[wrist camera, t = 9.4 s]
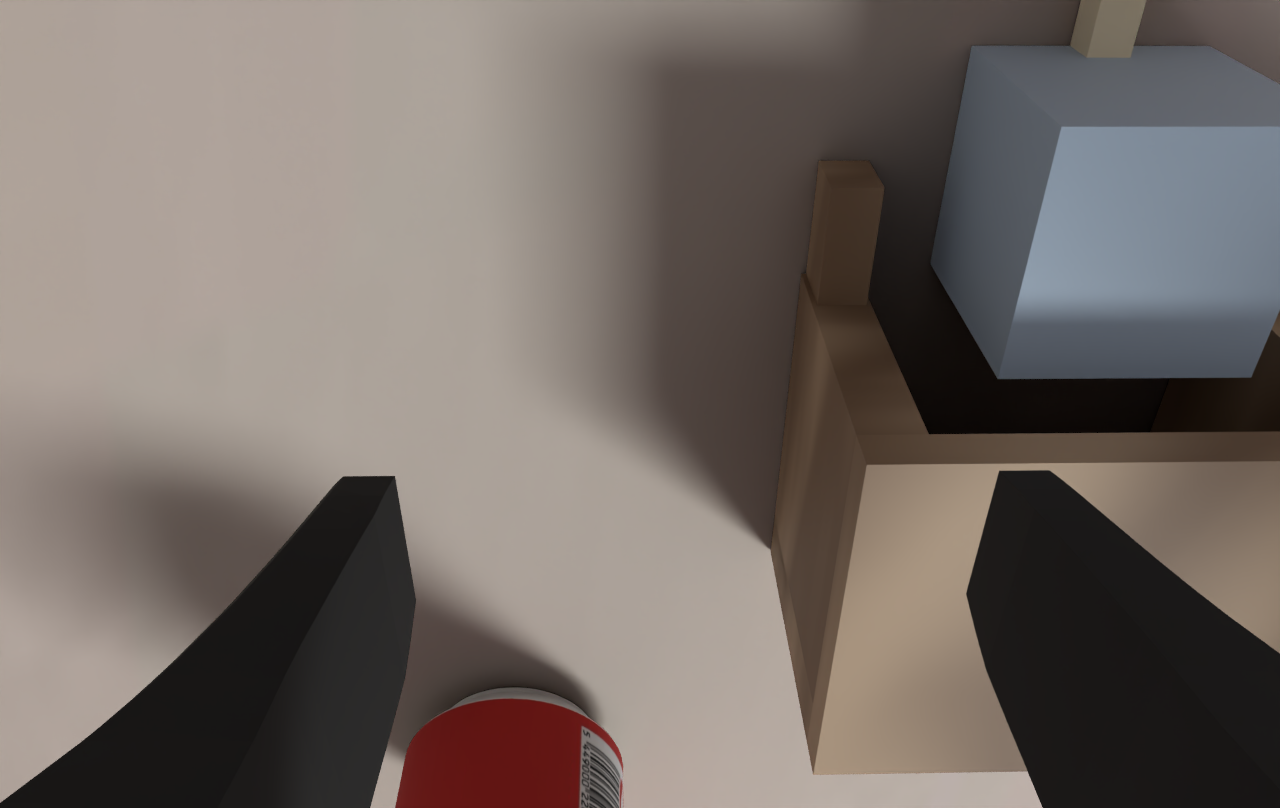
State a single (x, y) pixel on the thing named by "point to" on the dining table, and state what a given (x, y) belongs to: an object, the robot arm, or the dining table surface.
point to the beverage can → (512, 756)
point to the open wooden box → (971, 516)
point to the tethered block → (1113, 206)
